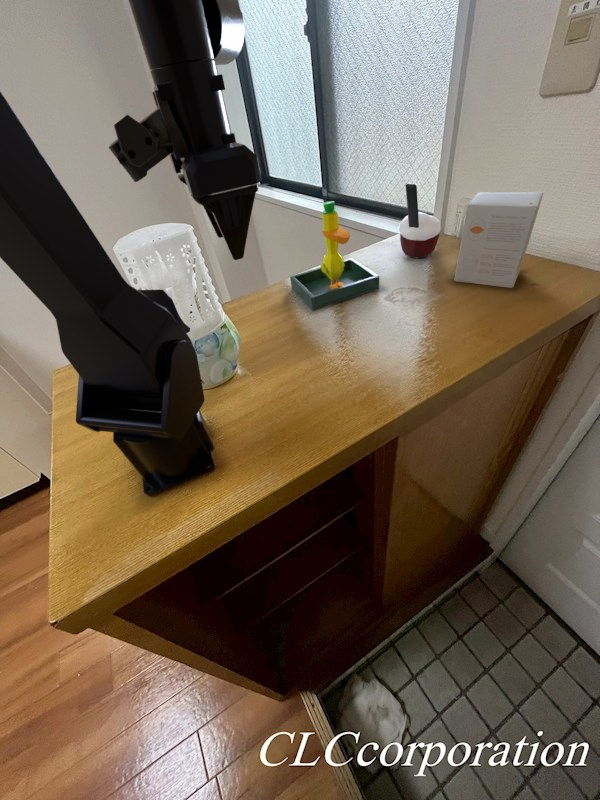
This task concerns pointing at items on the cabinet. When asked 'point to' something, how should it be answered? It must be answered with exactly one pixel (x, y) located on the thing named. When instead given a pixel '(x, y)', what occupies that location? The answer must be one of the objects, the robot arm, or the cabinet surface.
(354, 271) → the tray
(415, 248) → the red dessert cup
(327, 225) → the toy figure
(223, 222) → the robot arm
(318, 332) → the cabinet surface
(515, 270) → the small box
